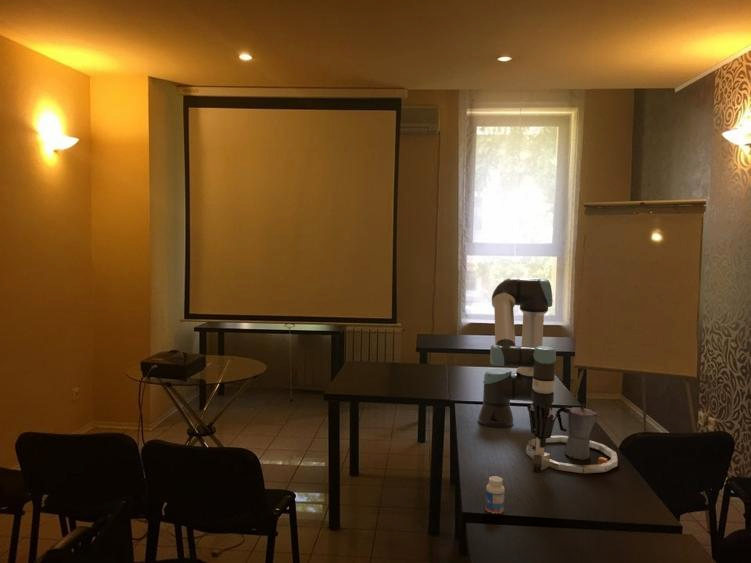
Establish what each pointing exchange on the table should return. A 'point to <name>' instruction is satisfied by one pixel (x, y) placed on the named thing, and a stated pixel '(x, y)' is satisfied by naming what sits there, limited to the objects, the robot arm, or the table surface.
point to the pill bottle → (495, 495)
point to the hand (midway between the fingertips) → (539, 455)
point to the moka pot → (578, 430)
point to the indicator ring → (545, 461)
